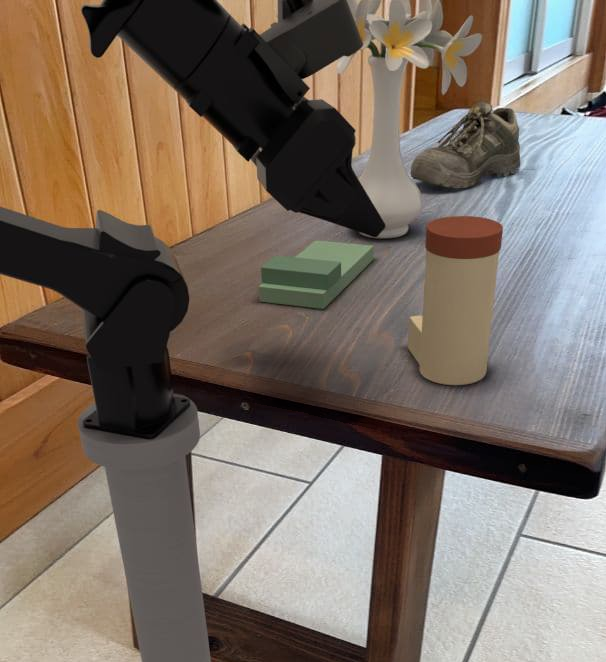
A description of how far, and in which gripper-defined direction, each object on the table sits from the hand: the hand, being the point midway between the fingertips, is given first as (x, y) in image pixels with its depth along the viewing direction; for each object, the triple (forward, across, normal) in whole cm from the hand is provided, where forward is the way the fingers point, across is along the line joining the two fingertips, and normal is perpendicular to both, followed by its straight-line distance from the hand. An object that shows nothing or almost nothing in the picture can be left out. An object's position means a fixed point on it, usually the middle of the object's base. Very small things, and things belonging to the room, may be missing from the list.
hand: (363, 214), depth 63 cm
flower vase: (+20, +40, -1) cm, 45 cm away
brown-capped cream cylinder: (+15, +1, +4) cm, 16 cm away
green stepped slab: (+11, +26, +8) cm, 29 cm away
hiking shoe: (+33, +62, -14) cm, 71 cm away
